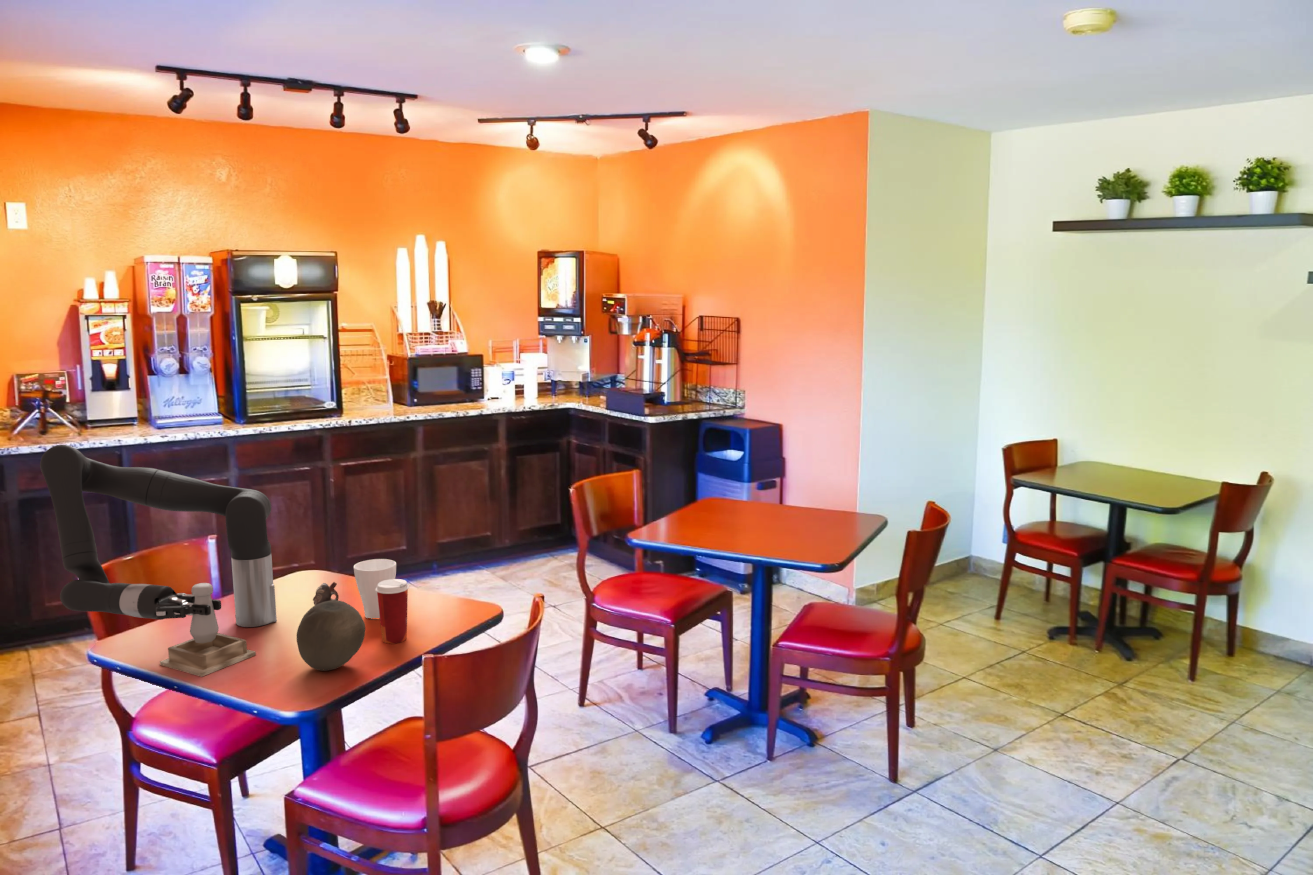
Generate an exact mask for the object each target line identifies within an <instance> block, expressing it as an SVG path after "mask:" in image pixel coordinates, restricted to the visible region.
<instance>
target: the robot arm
mask: <svg viewBox="0 0 1313 875" xmlns="http://www.w3.org/2000/svg"><path fill="white" fill-rule="evenodd" d="M39 466H40V471H41V474H42V475H43V477H44V481H45V484H46V485H47V486H46V487H47V489H48V491H49V495H50V497H51V502H52V506H53V509H54V515H55V519H56V526H57V532H58V540H59V547H60V552H61V559H62V566H63V568H64V570H65V571H67V572H69V573H71V574H73V575H75V576H76V578H77V579H74V580H71V581H69V582H68V583H66V584H65V585H64V586H63V587H62V588H61V591H60V594H59V600H60V602H61V604H62V605H63V606H64V607H65V608H66V609H67V610H70V611H75V612H93V613H94V612H95V613H96V612H98V613H100V612H101V613H102V612H103V613H110V614H115V615H123V616H130V617H135V618H141V619H142V618H143V619H153V620H165V619H166V620H168V619H184V618H187V616H191V617H192V615H194V614H199V615H210V614H211V607H210V605H197V604H194V603H195V596H193V595H192V593H190V594H189V593H185V592H179V593H178V592H176V591H175V590H174V588H172V586H169V585H159V584H149V583H148V584H147V583H125V582H113V583H112V582H111V583H110V581H109V579H108V576H107V574H106V573H105V570H104V568H103V566H102V564H101V562H100V560H99V557H98V556H99V555H98V550H97V545H96V538H95V534H94V530H93V526H92V523H91V521H90V518H89V514H88V512H87V508H86V506H85V505H86V503H85V500H84V495H83V494H84V493H83V492H85V493H93V494H98V495H99V494H101V495H104V496H105V495H106V496H110V497H112V498H113V497H114V498H115V499H120V500H123V501H127V502H129V503H132V504H133V503H134V504H138V505H142V506H145V507H149V508H154V509H159V510H162V511H163V510H164V511H169V512H184V513H185V512H189V513H190V512H196V513H197V512H201V513H203V512H204V513H209V514H210V513H212V514H216V515H219V516H223V517H225V529H226V540H227V545H228V548H229V550H230V558H231V570H232V571H231V572H232V573H231V574H232V584H233V585H232V586H233V587H232V588H233V598H234V614H235V615H234V617H235V625H237V626H239V627H243V628H253V627H254V628H255V627H262V626H265V625H269V624H272V623H274V622H275V623H276V622H278V620H277V618H278V617H277V605H276V602H277V601H276V590H275V589H276V586H275V584H274V576H273V575H274V573H273V560H272V545H271V543H270V541H269V539H268V538H269V537H268V530H267V529H268V528H267V519H268V517H270V514H271V512H272V502H271V500H270V499H269V498H268V496H267V495H266V494H265V493H263V492H261V491H259V490H256V489H251V488H242V487H235V486H234V487H233V486H228V485H221V484H215V483H212V482H208V481H205V480H201V479H198V478H194V477H190V476H186V475H183V474H182V475H181V474H178V473H175V472H171V471H167V470H162V469H157V468H153V467H144V466H142V467H139V466H134V467H131V466H130V467H129V466H128V467H126V466H125V467H124V466H118V465H117V466H116V465H111V464H108V463H103V462H100V461H97V460H95V459H91V458H88V457H86V456H85V455H84V454H83V453H82V452H81V451H80V450H79V449H77V447H76V448H75V447H73V446H71V445H67V444H58V445H53V446H52V447H49V448H48V449H47V450H46V451H44V453H43V454H42V456H41V458H40V463H39ZM211 599H212V603H213V607H214V611H220V610H221V609H222V601H221V600H220V599H214V598H211Z"/></svg>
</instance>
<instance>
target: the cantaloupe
mask: <svg viewBox="0 0 1313 875" xmlns="http://www.w3.org/2000/svg"><path fill="white" fill-rule="evenodd" d="M296 630H297V631H296V643H297V647H298V652H299V656H300V657H301V659H302V660H303V661H304V663H305V664H307V666H309V667H310V668H312V669H314V670H317V671H320V672H321V671H323V672H324V671H325V672H326V671H332V670H336V669H338V668H340V667H342V666H344V665H345V664H347V663H348V662H349V661H350V660H351V659H352V658H353V657H354V656H355V655H356V654H357V653H358V652H359V650H360V649H361V647H362V645H363V643H364V639H365V636H366V624H365V621H364V619H363V617H362V615H361V613H360V612H359V611H358V610H357V609H356V608H355V607H354V606H352V605H350V604H349V603H347V602H346V601H342V600H338V601H337V600H331V601H326V602H322V603H319V604H317V605H314V606H312V607H311V608H310V609H309V610H308V611H307V612H306V613H305V614H304V615H303V616H302V619H301V620H300V622H299V624H298V627H297V629H296Z"/></svg>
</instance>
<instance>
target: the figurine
mask: <svg viewBox="0 0 1313 875" xmlns="http://www.w3.org/2000/svg"><path fill="white" fill-rule="evenodd" d="M336 587H337V583H336V582H335V581H333V582H332V583H331V584H330V585H329V584H328V583H326V582H323V583H321V584H320V585H319V586H318V587H317V589H316V590H315V595H314V597H313V598H312V601H313V605H314V606H315V605H317V604H319V603H322V602H326V601H331V600H337V601H339V593H338V591H337V590H336ZM332 595H333V596H335V598H334V599H333V598H332Z"/></svg>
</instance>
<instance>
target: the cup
mask: <svg viewBox="0 0 1313 875" xmlns="http://www.w3.org/2000/svg"><path fill="white" fill-rule="evenodd" d="M353 572H354V573H353V574H354V579H355V583H356V586H357V591H358V592H359V595H360V599H361V602H362V606H363V611H364V617H365V618H366V619H368V618H371V619H370V620H373V619H372V618H380V614H379V605H378V596H377V592H376V588H377V585H378V583H379V582H381V581H384V580H390V579H396V577H397V576H396V574H397V562H396V561H395V560H392V559H387V558H374V559H367V560H363V561H360V562H357V563H355V564H354V565H353Z"/></svg>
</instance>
